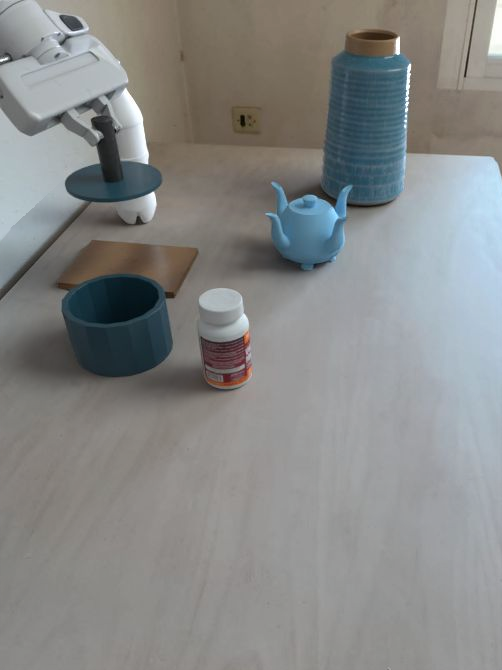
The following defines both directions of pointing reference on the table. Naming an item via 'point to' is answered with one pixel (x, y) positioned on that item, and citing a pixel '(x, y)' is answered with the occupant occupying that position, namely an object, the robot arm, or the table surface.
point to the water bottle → (132, 155)
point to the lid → (112, 173)
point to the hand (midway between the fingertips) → (108, 137)
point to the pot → (118, 324)
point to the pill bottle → (224, 339)
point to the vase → (367, 119)
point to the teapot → (308, 227)
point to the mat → (132, 263)
